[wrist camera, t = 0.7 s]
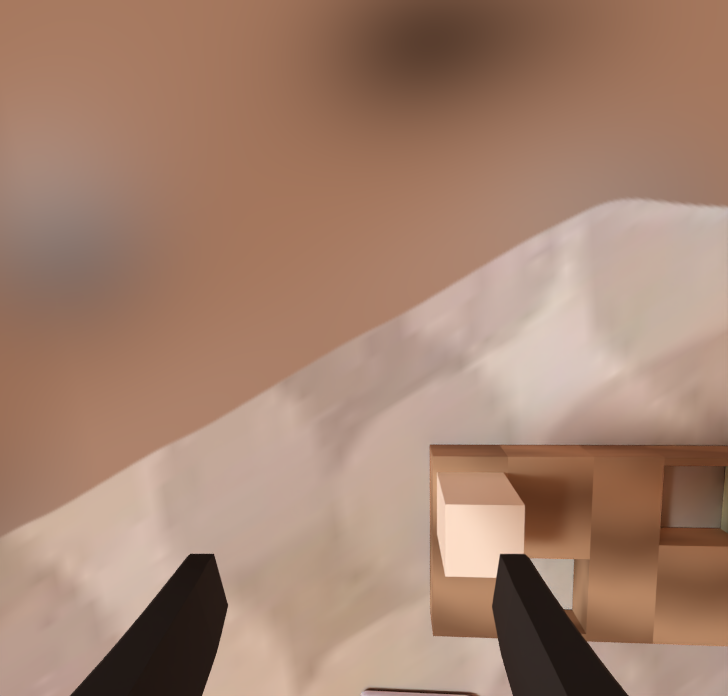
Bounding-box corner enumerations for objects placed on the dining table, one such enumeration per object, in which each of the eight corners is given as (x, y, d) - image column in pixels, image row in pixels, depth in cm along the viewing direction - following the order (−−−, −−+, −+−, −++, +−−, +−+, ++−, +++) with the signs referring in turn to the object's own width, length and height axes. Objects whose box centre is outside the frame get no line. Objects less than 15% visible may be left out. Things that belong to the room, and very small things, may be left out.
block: (502, 534, 25) (523, 578, 21) (437, 533, 25) (445, 576, 22) (503, 472, 25) (524, 505, 21) (436, 472, 25) (445, 504, 21)
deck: (810, 624, 27) (894, 689, 22) (430, 612, 28) (437, 670, 24) (830, 445, 25) (924, 477, 21) (429, 444, 27) (437, 473, 22)
